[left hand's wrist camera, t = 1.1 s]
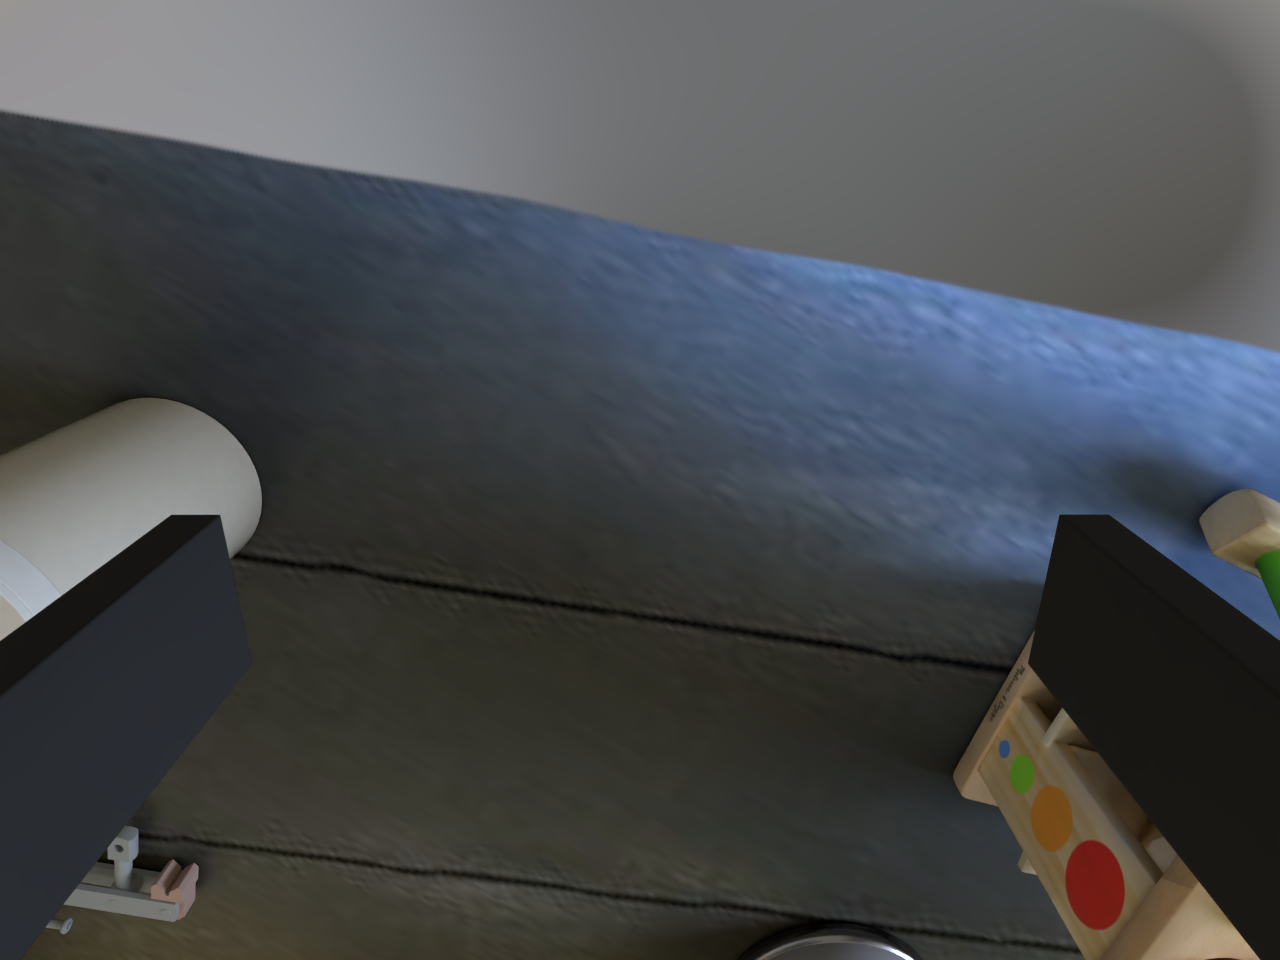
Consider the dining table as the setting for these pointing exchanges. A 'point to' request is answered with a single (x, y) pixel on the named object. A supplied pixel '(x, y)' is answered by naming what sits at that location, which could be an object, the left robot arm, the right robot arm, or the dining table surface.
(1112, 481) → the dining table surface
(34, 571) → the lid
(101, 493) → the jar
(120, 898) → the clamp
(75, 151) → the dining table surface
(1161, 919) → the pounding bench toy
